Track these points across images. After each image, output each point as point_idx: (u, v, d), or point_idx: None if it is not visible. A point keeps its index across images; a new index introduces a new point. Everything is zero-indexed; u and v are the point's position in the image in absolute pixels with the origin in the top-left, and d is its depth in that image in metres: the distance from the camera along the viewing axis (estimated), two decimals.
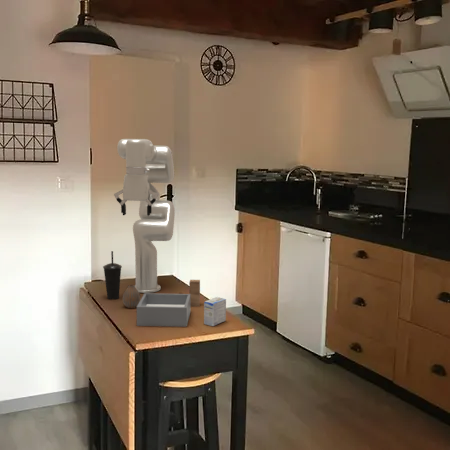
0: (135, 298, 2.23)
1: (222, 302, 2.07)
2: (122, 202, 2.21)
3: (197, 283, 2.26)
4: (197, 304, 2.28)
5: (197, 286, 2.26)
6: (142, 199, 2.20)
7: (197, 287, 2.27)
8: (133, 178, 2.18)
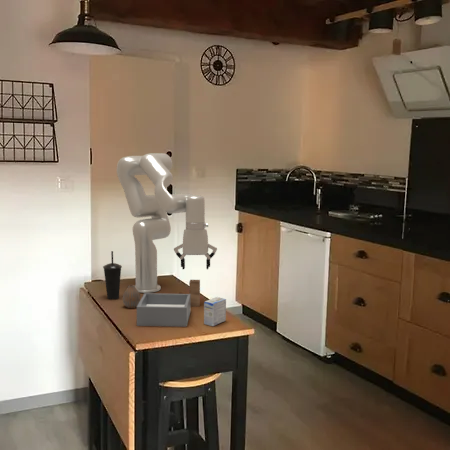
0: (135, 298, 2.23)
1: (222, 302, 2.07)
2: (182, 256, 2.25)
3: (197, 283, 2.26)
4: (197, 304, 2.28)
5: (197, 286, 2.26)
6: (201, 254, 2.24)
7: (197, 287, 2.27)
8: (193, 233, 2.23)
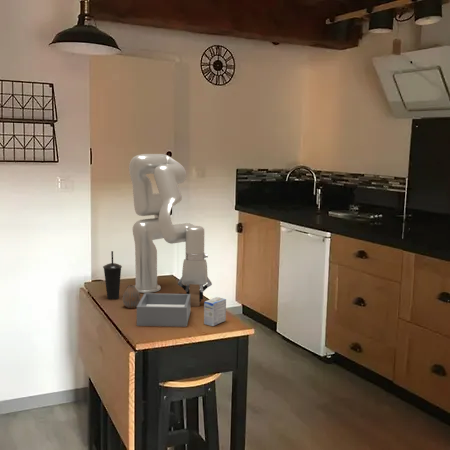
0: (135, 298, 2.23)
1: (222, 302, 2.07)
2: (187, 289, 2.27)
3: None
4: (197, 304, 2.28)
5: (197, 286, 2.26)
6: (201, 284, 2.26)
7: (197, 287, 2.27)
8: (192, 264, 2.25)
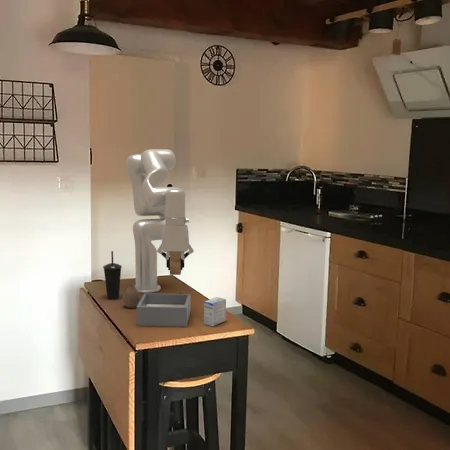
0: (136, 298, 2.23)
1: (222, 302, 2.07)
2: (167, 257, 2.13)
3: None
4: (178, 272, 2.13)
5: (178, 253, 2.12)
6: (182, 250, 2.12)
7: (178, 254, 2.12)
8: (172, 229, 2.10)
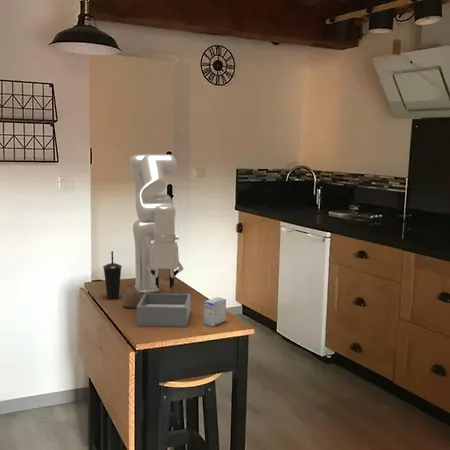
0: (135, 298, 2.23)
1: (222, 302, 2.07)
2: (156, 274, 2.08)
3: None
4: (167, 291, 2.08)
5: (167, 271, 2.07)
6: (171, 268, 2.07)
7: (167, 272, 2.07)
8: (161, 246, 2.05)
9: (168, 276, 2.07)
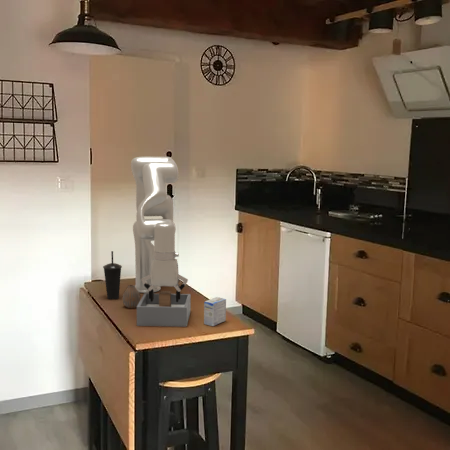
0: (135, 298, 2.23)
1: (222, 302, 2.07)
2: (150, 288, 2.09)
3: (167, 295, 2.09)
4: None
5: (167, 298, 2.09)
6: (171, 285, 2.08)
7: (167, 299, 2.09)
8: (161, 264, 2.06)
9: (168, 303, 2.09)
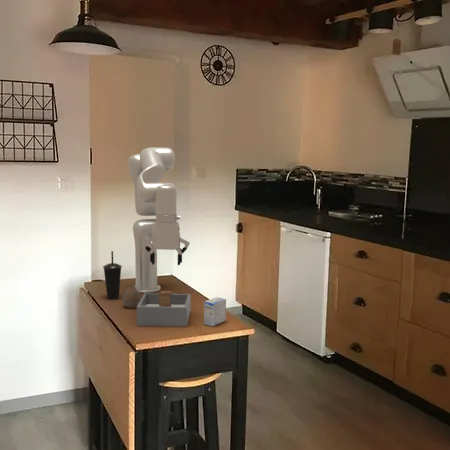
0: (135, 298, 2.23)
1: (222, 302, 2.07)
2: (151, 251, 2.08)
3: (167, 295, 2.09)
4: None
5: (167, 298, 2.09)
6: (172, 248, 2.07)
7: (167, 299, 2.09)
8: (163, 226, 2.05)
9: (168, 303, 2.09)
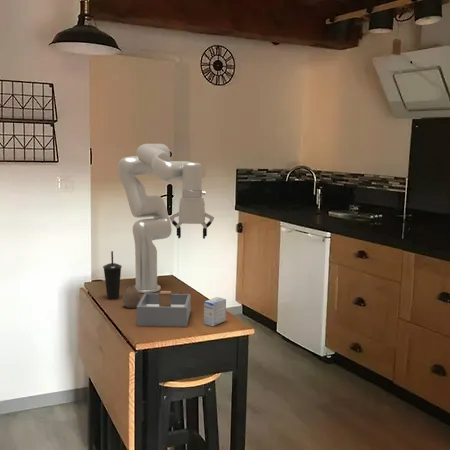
0: (135, 298, 2.23)
1: (222, 302, 2.07)
2: (178, 225, 2.19)
3: (167, 295, 2.09)
4: None
5: (167, 298, 2.09)
6: (198, 222, 2.18)
7: (167, 299, 2.09)
8: (189, 201, 2.17)
9: (168, 303, 2.09)
